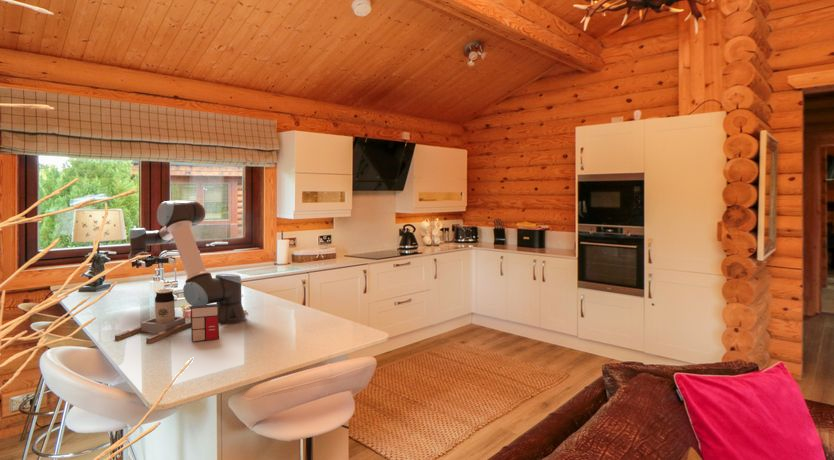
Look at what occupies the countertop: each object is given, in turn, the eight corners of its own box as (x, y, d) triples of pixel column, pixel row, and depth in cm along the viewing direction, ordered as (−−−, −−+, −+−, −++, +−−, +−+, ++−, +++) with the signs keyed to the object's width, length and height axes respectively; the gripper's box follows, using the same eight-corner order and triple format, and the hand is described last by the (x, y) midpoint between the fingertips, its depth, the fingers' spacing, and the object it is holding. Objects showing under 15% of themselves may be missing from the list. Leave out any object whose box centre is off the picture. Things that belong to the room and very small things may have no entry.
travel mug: (162, 325, 234) (160, 288, 232) (178, 326, 234) (177, 288, 232) (152, 330, 226) (151, 292, 224) (169, 331, 226) (168, 292, 224)
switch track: (191, 326, 234) (191, 321, 234) (150, 343, 209) (150, 338, 208) (158, 323, 238) (158, 319, 237) (114, 339, 212) (114, 334, 212)
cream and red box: (191, 342, 210) (190, 308, 209) (191, 339, 214) (190, 305, 213) (219, 339, 214) (218, 305, 213) (219, 337, 218) (218, 303, 217)
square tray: (185, 325, 234) (185, 317, 233) (166, 333, 221) (165, 324, 221) (161, 323, 236) (161, 315, 236) (141, 331, 224) (140, 322, 223)
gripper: (170, 264, 266) (186, 268, 251) (118, 269, 248) (131, 274, 233) (170, 250, 265) (185, 253, 250) (117, 254, 247) (131, 258, 232)
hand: (159, 263), depth 242 cm, fingers open, 13 cm apart
